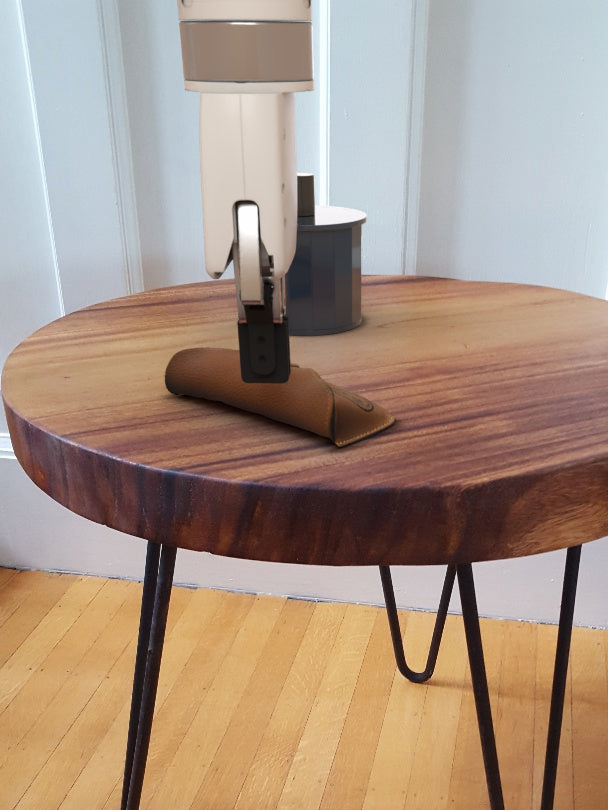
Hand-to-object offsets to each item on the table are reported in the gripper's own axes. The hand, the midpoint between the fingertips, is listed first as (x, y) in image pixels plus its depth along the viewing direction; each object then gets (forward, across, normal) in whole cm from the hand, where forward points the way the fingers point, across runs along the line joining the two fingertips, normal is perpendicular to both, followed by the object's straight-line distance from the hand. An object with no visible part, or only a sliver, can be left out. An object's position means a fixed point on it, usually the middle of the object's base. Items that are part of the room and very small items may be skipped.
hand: (266, 379), depth 65 cm
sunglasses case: (+5, -8, 0) cm, 10 cm away
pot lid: (-4, -36, 0) cm, 37 cm away
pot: (+5, -36, 0) cm, 37 cm away
